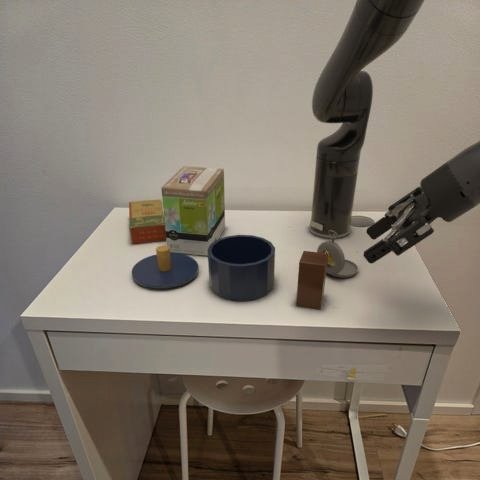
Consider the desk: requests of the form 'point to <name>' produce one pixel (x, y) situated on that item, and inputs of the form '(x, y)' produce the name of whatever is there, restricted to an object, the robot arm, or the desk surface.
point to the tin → (241, 267)
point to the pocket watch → (337, 259)
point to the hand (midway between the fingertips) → (367, 246)
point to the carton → (146, 221)
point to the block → (311, 279)
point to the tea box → (194, 209)
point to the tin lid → (165, 269)
